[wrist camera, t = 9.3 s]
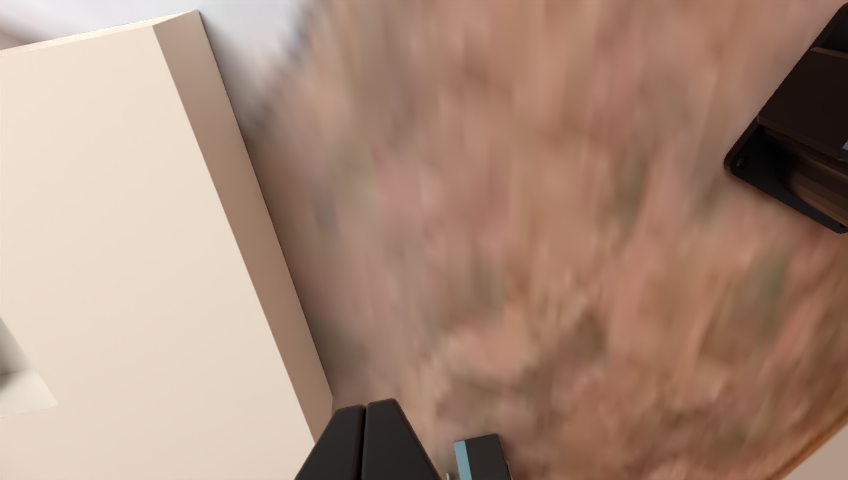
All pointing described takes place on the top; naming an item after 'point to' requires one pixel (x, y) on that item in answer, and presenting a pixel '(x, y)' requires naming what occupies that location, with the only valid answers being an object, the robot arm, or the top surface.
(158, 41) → the box
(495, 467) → the push button
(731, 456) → the top surface
